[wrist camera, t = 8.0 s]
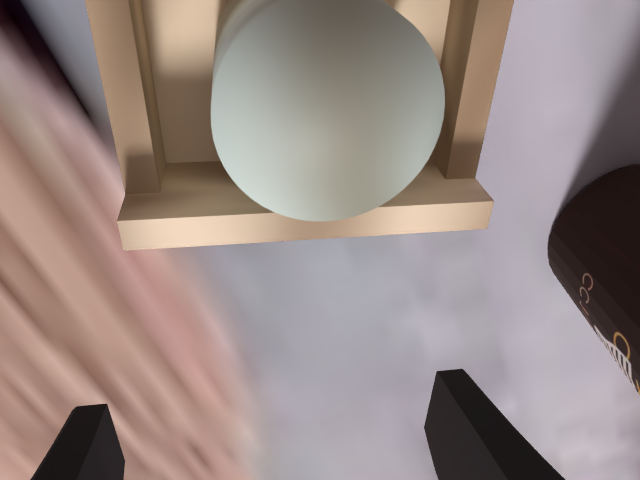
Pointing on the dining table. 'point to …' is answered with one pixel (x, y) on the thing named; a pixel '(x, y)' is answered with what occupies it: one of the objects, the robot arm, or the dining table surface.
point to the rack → (297, 116)
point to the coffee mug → (604, 262)
